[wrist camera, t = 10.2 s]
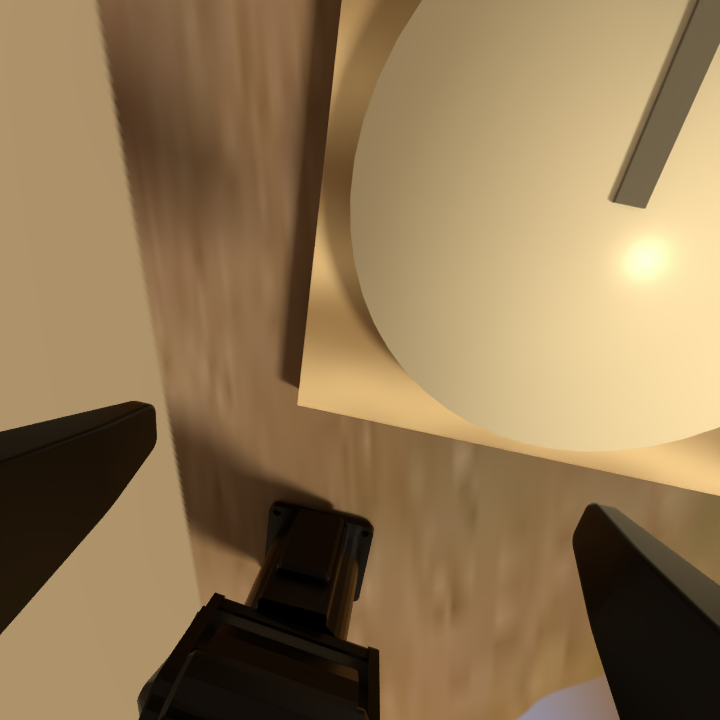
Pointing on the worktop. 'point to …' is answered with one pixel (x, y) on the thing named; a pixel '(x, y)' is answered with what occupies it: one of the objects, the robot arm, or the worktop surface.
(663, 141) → the dial
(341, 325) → the base plate
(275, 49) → the worktop surface
